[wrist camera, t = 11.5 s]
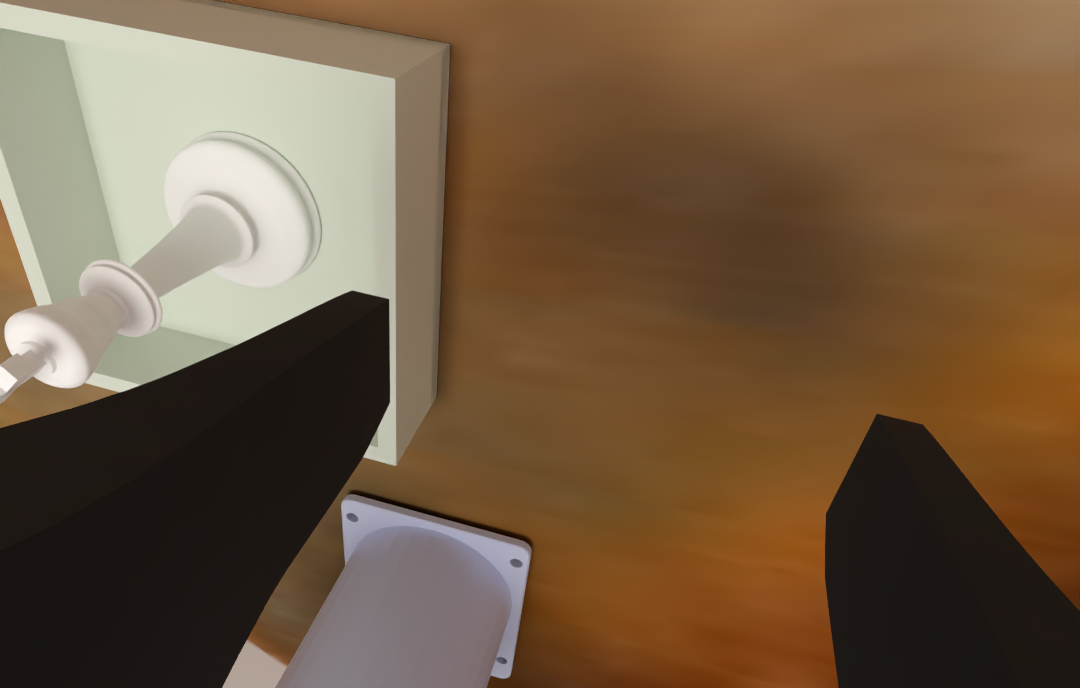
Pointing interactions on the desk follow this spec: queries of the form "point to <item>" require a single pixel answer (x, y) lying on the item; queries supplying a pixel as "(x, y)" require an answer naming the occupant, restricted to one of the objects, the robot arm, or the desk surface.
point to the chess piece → (175, 258)
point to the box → (240, 107)
